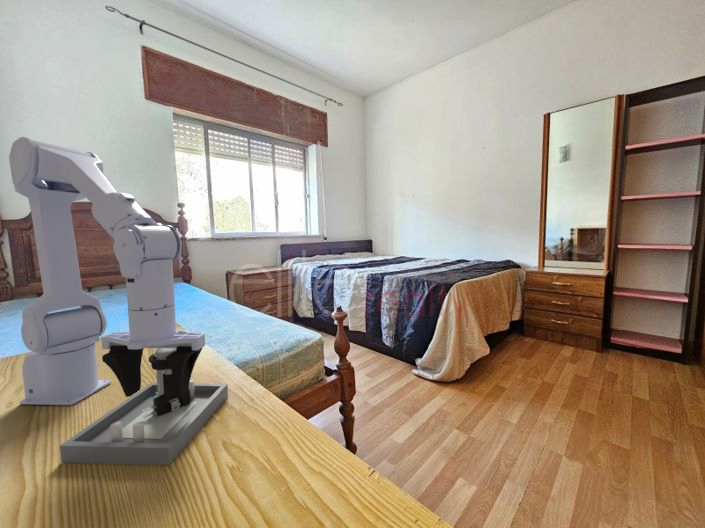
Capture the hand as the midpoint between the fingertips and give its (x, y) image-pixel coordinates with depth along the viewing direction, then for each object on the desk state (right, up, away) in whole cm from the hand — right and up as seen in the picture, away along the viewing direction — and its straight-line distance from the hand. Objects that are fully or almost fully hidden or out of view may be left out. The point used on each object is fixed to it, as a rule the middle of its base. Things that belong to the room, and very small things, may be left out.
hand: (157, 393), depth 44 cm
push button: (0, -4, +2) cm, 5 cm away
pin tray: (0, -5, 0) cm, 5 cm away
